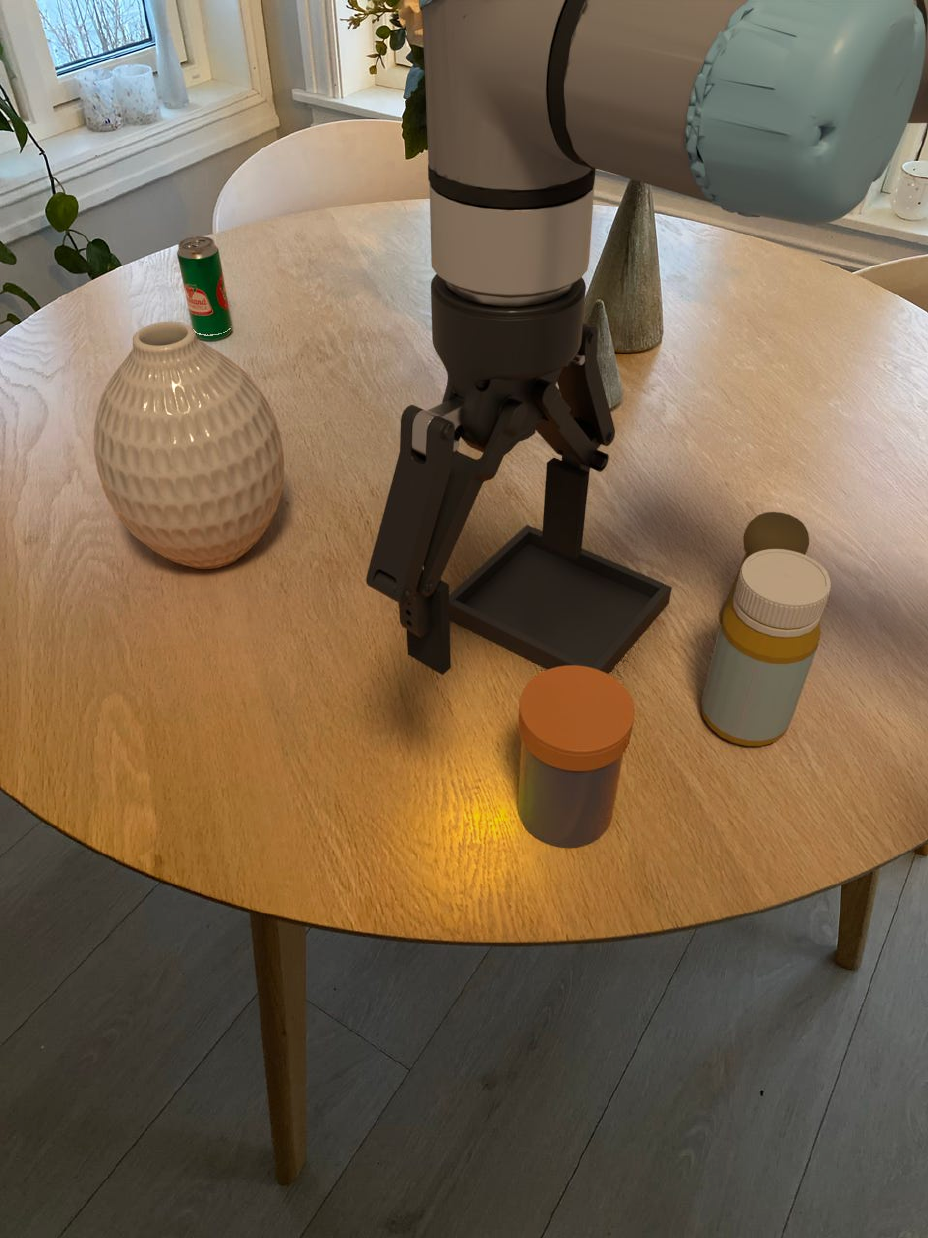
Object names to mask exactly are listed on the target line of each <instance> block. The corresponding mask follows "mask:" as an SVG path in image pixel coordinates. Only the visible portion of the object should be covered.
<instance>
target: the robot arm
mask: <svg viewBox="0 0 928 1238" xmlns="http://www.w3.org/2000/svg"><path fill="white" fill-rule="evenodd" d="M418 7H419V11H421V28H422V43H423V44H422V46H423V60H424V81H425V102H426V103H425V106H426V107H425V108H426V135H427V136H426V137H427V156H428V157H427V161H428V163H427V177H428V178H427V179H428V183H429V214H430V215H429V217H430V219H429V221H430V223H429V224H430V259H431V262H430V263H431V268H432V269H433V271H434V272H435V275H434V276H433V278H432V279H431V282H430V302H431V303H430V304H431V307H430V308H431V338H432V345H433V348H434V351H435V352H436V354H437V356H438V357H439V359H440V361H441V363H442V365H443V366H444V369H445V371H446V373H447V382H446V387H445V390H444V394H443V397H442V401H441V403H440V404H437V405H436V406H433V407H431V408H429V409H423V408H421V407H419V406H416V405H414V404H409V405H408V406H406V407H405V408H404V410H403V412H402V414H401V417H400V435H399V436H400V438H399V439H400V440H399V443H400V444H399V454H398V458H397V460H396V463H395V464H396V465H395V470H394V472H393V476H392V480H391V483H390V484H391V485H390V488H389V491H388V495H387V499H386V503H385V506H384V510H383V513H382V517H381V521H380V525H379V529H378V533H377V536H376V540H375V543H374V548H373V551H372V555H371V557H370V562H369V566H368V570H367V574H366V577H365V578H366V579H365V583H366V585H367V586H368V587H370V588H372V589H374V590H376V591H377V592H378V593H381V594H383V595H384V596H385V597H387V598H389V599H390V600H393V601H394V602H397V603H398V609H399V610H398V613H399V624H400V625H401V627H402V628H404V629H405V630H406V632H405V633H406V645H407V646H406V647H407V648H406V649H407V656H409V657H411V658H413V659H414V660H416V661H418V662H419V663H421V664H423V665H425V666H426V667H428V668H429V669H431V670H432V671H435V672H436V673H438V674H440V675H441V676H443V675H445V674H446V673H447V672H448V671H449V670H451V668H452V663H451V660H452V659H451V658H452V657H451V656H452V655H451V621H450V606H449V595H450V583H447V582H445V581H444V580H442V576H443V574H444V572H445V570H446V568H447V565H448V563H449V562H450V561H449V560H450V558H451V556H452V554H453V552H454V549H455V548H456V545H457V543H458V540H459V538H460V536H461V534H462V532H463V529H464V527H465V525H466V523H467V520H468V518H469V516H470V513H471V511H472V509H473V507H474V505H475V502H476V499H477V497H478V496H479V493H480V491H481V489H482V486H483V484H484V483H485V482H486V481H490V480H492V479H494V478H495V476H496V475H497V472H498V470H499V468H500V467H501V464H502V462H503V459H504V457H505V456H506V455H507V454H509V453H510V452H511V451H512V450H513V449H514V448H515V446H516V445H518V444H519V443H520V442H523V441H526V440H528V439H530V438H531V437H532V436H534V435H535V434H536V432H537V433H538V434H539V436H540V437H542V439H543V440H544V441H545V443H547V444H548V446H549V447H550V448H551V449H552V450H553V451H554V452H555V454H557V455H559V456H561V459H559V458H556V457H551V459H550V460H548V461H547V462H546V470H545V485H544V486H545V487H544V499H543V500H544V503H543V518H542V530H541V531H542V544H544V545H546V546H548V547H550V548H552V549H554V550H556V551H558V552H560V553H562V554H564V555H567V556H569V557H571V558H573V559H576V558H577V557H578V556H579V555H580V554H581V550H582V548H583V542H584V541H583V539H584V530H585V519H586V509H587V499H588V493H589V492H588V491H589V482H590V474H591V473H590V471H591V469H592V470H594V471H597V472H600V473H602V472H603V471H604V470H605V469H606V468H607V465H608V463H609V459H610V456H609V454H608V453H606V452H604V451H601V450H599V448H600V447H601V446H604V447H609V446H610V445H611V444H612V442H613V441H614V439H615V436H616V429H615V425H614V421H613V417H612V412H611V410H610V406H609V401H608V397H607V393H606V390H605V389H606V388H605V386H604V382H603V378H602V375H601V370H600V366H599V363H598V334H599V333H598V328H597V327H596V326H593V325H591V324H588V323H585V322H584V315H585V302H586V293H587V284H586V282H585V280H584V278H583V276H584V275H585V274H586V273H587V271H588V269H589V265H590V258H591V257H590V256H591V243H592V242H591V240H592V228H593V227H592V226H593V213H594V212H593V210H594V198H595V184H596V170H599V171H603V172H605V173H609V174H613V175H616V176H619V177H622V178H626V179H630V180H633V181H636V182H639V183H642V184H646V185H650V186H653V187H656V188H659V189H662V190H667V191H670V192H673V193H677V194H680V195H684V196H687V197H690V198H693V199H696V200H700V201H703V202H707V203H711V204H713V205H714V206H718V207H720V208H721V209H722V211H726V212H728V213H731V214H735V213H737V214H738V215H739V216H742V217H745V218H760V217H763V218H767V219H773V220H778V221H785V222H789V223H795V224H802V225H805V226H820V225H827V224H829V223H830V224H831V223H833V222H835V221H838V220H840V219H842V218H844V217H845V216H846V215H848V214H850V213H851V212H852V211H853V210H854V209H855V208H857V207H858V206H859V205H860V204H862V202H863V201H864V200H865V198H866V196H867V194H868V192H869V190H870V188H871V186H872V184H873V183H875V182H876V181H877V180H878V179H879V180H880V178H881V177H882V176H883V174H884V173H885V171H886V169H887V168H888V166H889V164H890V162H891V160H892V158H893V157H894V155H895V152H896V150H897V148H898V147H899V144H900V142H901V139H902V137H903V135H904V133H905V130H906V127H907V125H908V124H928V0H418ZM557 386H558V387H557ZM460 439H462V441H464V443H465V444H466V445H467V446H468V447H470V448H471V449H473V450H476V451H478V452H481V453H482V454H481V456H480V458H477V459H476V458H473V457H471V456H468V454H467V455H466V454H465V453H462V452H460V451H459V448H460Z"/></svg>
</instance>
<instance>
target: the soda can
mask: <svg viewBox="0 0 928 1238" xmlns="http://www.w3.org/2000/svg"><path fill="white" fill-rule="evenodd" d="M177 245H178V249H177V251H176V255H177V261H178V266H179V270H180V275H181V280H182V285H183V289H184V294H185V299H186V305H187V308H188V313H189V318H190V323H191V328H192V329H194V330H195V331H196V332H197V333H201V334H206V335H207V334H208V335H210V334H218V333H222V334H219V335H213V336H204V335H199V334H197V333H195V334H196V336H197V338H198V339H199V340H202V341H206V342H214V341H220V340H223V339H226V338H228V336H229V335H230V334H231V333H232V331H233V323H232V322H233V321H232V317H231V310H230V306H229V299H228V293H227V289H226V283H225V277H224V271H223V266H222V260H221V256H220V250H219V247H218V246H217V245H216V243H215V240H214V239H213V238H211V237H209V236H205V235H195V236H190V237H186V238H184V239H181V240H180V241H179V242H178V244H177ZM231 326H232V327H231ZM229 328H231V329H230V330H228V329H229ZM227 330H228V331H227ZM225 331H227V332H225ZM223 332H225V333H223Z"/></svg>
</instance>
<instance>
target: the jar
mask: <svg viewBox="0 0 928 1238" xmlns="http://www.w3.org/2000/svg"><path fill="white" fill-rule="evenodd" d="M624 754H625V753H624V752H623V754H622V755H621V756H620V757H619V758H618V759H616V760H615V761H614V762H612V763H610V764H609V765H606V766H604V767H602V768H598V769H595V770H589V771H569V770H564V769H559V768H556V767H553V766H551V765H549V764H547V763H545V762H543V761H541V760H540V759H538V758H537V757H536V756H534V755H533V754H532V753H531V752H530V751H529V750H528V748H527V747H526V746H525V744H524V742H523V740H522V739H521V743H520V759H519V776H518V777H519V778H518V790H517V791H518V793H517V812H518V813H517V814H518V816H519V819H520V821H521V823H522V825H523V826H524V828H525V829H526V831H527V832H528V833H529V834H530V835H531V836H533V837H534V838H535V839H537V840H538V841H540V842H542V843H543V844H545V845H548V846H550V847H551V846H552V847H556V848H561V849H574V848H575V849H577V848H581V847H585V846H588V845H590V844H592V843H594V842H596V841H597V840H599V839H600V838H601V837H602V836H603V835H604V834H605V833H606V832H607V831H608V829H609V827H610V825H611V823H612V819H613V814H614V808H615V803H616V798H617V791H618V786H619V781H620V774H621V770H622V769H621V768H622V764H623V758H624Z"/></svg>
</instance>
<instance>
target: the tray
mask: <svg viewBox="0 0 928 1238" xmlns="http://www.w3.org/2000/svg"><path fill="white" fill-rule="evenodd" d="M542 531H543V530H541V529H538V528H536V527H533V526H531V525H529V524H526V525H525V526H524V527H523V528H522V529H520V531H518V532H517V533H516V534H515V535H514V536H513V537H511V539H510V540H508V541H507V542H506V543H505V544H504V545H503V546H502V547H500V548H499V549H498V550H497V551H496V552H495V553H494V554H492V556H490V557H489V558H488V559H487V560H486V561H485V562H484V563H483V564H482V565H481V566H480V567H478V568H477V569H476V570H475V571H474V572H473V573H472V574H470V576H468V577H467V578H466V579H465V580H464V581H463V582H461V583H460V585H458V586H457V587H456V588H455V589H453V590H452V592H450V593H449V606H450V622H452V623H454V624H456V625H458V626H460V627H462V628H464V629H466V630H468V631H470V632H472V633H474V634H475V635H476V634H477V636H480V637H482V638H484V639H487V640H488V641H490V642H491V643H494V644H496V645H498V646H500V647H502V648H504V649H506V650H508V651H510V652H512V653H514V654H516V655H518V656H520V657H522V658H523V659H526V660H528V661H530V662H532V663H534V664H536V665H538V666H540V667H541V668H544V669H546V670H548V669H551V668H555V667H560V666H568V665H577V666H586V667H590V668H594V669H597V670H600V671H602V672H605V673H607V674H608V675H610V673H611V672H612V671H613V669H614V668H615V667H616V666H617V665H618V664H619V663H620V661H621V660H622V659H623V658H624V657H625V655H626V654H627V653H628V652H629V651H630V650H631V649H632V648H633V646H634V645H636V643H637V642H638V640H639V639H640V638H641V637H642V636H643V634H645V632H646V631H647V630H648V629H649V627H650V626H651V625H652V624H653V623H654V621H655V620H656V619H658V617H659V615H661V614H662V612H663V611H664V610H665V609H666V607H668V605H669V604H670V599H671V595H672V589H673V587H672V586H670V585H668V584H666V583H664V582H661V581H659V580H658V579H654V578H652V577H650V576H648V575H645V574H643V573H641V572H638V571H636V570H634V569H632V568H629V567H627V566H625V565H622V564H620V563H618V562H615V561H613V560H611V559H609V558H606V557H604V556H601V555H599V554H597V553H594V552H592V551H589V550H587V549H585V548H583V547H582V550H581V554H580V555H579V556H578V557H577V558H576V559H573V558H571V557H569V556H567V555H564V554H562V553H560V552H558V551H556V550H554V549H552V548H550V547H548V546H546V545H544V544H542Z"/></svg>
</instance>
